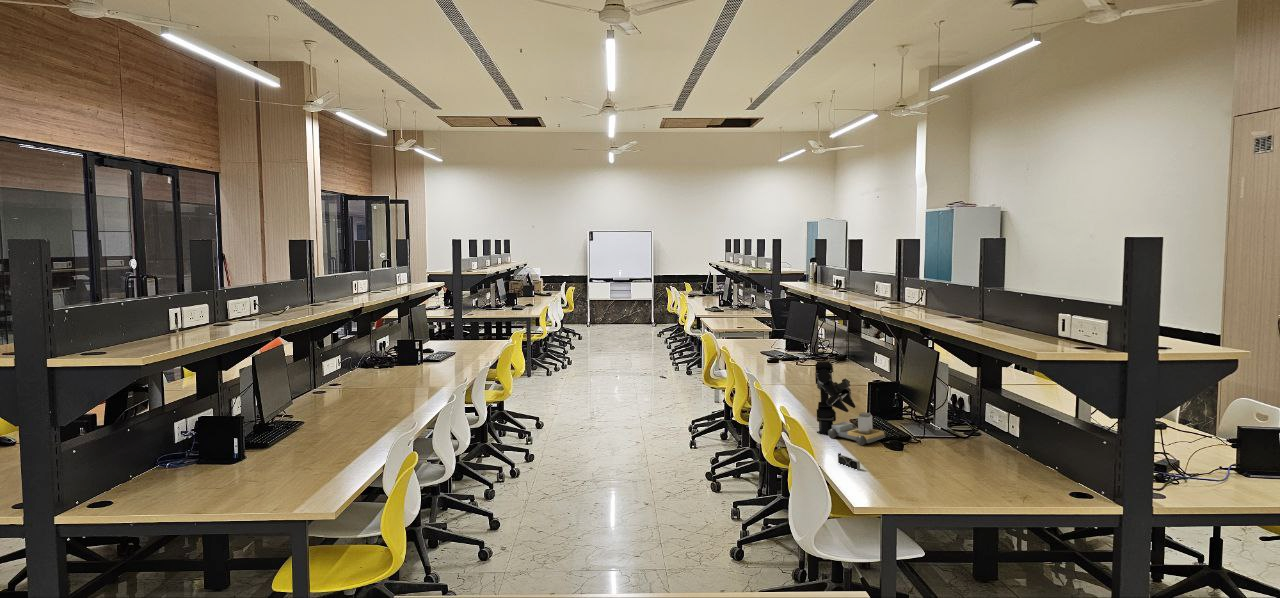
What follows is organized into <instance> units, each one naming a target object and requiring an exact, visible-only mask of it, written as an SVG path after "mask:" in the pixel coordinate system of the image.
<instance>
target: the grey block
mask: <svg viewBox="0 0 1280 598" xmlns="http://www.w3.org/2000/svg"><path fill="white" fill-rule="evenodd" d="M857 429H858V433H859V434H863V435H870V434H873V429H874V428H873V415H872V414H871V412H861V413H859V414H858V415H857Z"/></svg>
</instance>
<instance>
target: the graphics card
mask: <svg viewBox="0 0 1280 598" xmlns="http://www.w3.org/2000/svg"><path fill="white" fill-rule="evenodd" d="M837 462H838V463H840V464H839V465H841V464H843V465H842V466H844V465H846V466H848V467H847V468H849V467H851V469H852V468H854V469H853V470H855V469H857V470H856V471H861V462H860V460H858V459H854V458H851V457H848V456H846V455H842V453H841V452H838V453H837ZM846 466H845V467H846Z"/></svg>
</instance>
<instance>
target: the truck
mask: <svg viewBox="0 0 1280 598" xmlns="http://www.w3.org/2000/svg"><path fill="white" fill-rule="evenodd" d="M827 436H828V437H829V438H830V439H836V438H837V437H838V438H843V439H847V440H852V441H854V442H856V443H857V445H858V446H861V447H862V446H865V445H866V444H869V445H870V444H871V443H875V442H877V441H882V440H884V439H883V438H885V439H886V436H887V434H886V432H885V431H884V430H883V429H875V428H873V434H870V435H863V434H859V433H858V427H857V425H856V424H854V423H852V422H848V421H842V422H838V423H835V424H834V423H833V425H832V429H830V430H829V431H828V435H827ZM881 439H882V440H881Z"/></svg>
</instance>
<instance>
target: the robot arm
mask: <svg viewBox="0 0 1280 598" xmlns="http://www.w3.org/2000/svg"><path fill="white" fill-rule="evenodd" d="M814 367H815V374H814V375H815V376H814V377H815V379H814V380H815V385H816V388H817V389H818V390H819V391H820V401H818V403H817V409H816V421H817V422H818V431H816V432H817V433H818V434H821V435H825V436H829V435H828V431H829V430H830V429H832V425H834V423H835V422H836V421H837V412H836V411H835V409H838V410H841V411H843V412H845V413H849V412H850V410H849V409H848V407H847V406H846V405H848V406H849V407H851V408H853V409H855V408H856V405H855V403H854V401H853V399H852V397H851V394H852V390H851V388H850V387H851V382H850V380H849V379H847V378H846V377H845V378H843V379H842V380H841V382H839V383H838V382H837V381H835V382H834V381H833V373H834V366H833V364H832V363H831V361H830V360H817V361H816V363H815V364H814ZM845 404H846V405H845ZM834 408H835V409H834Z"/></svg>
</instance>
